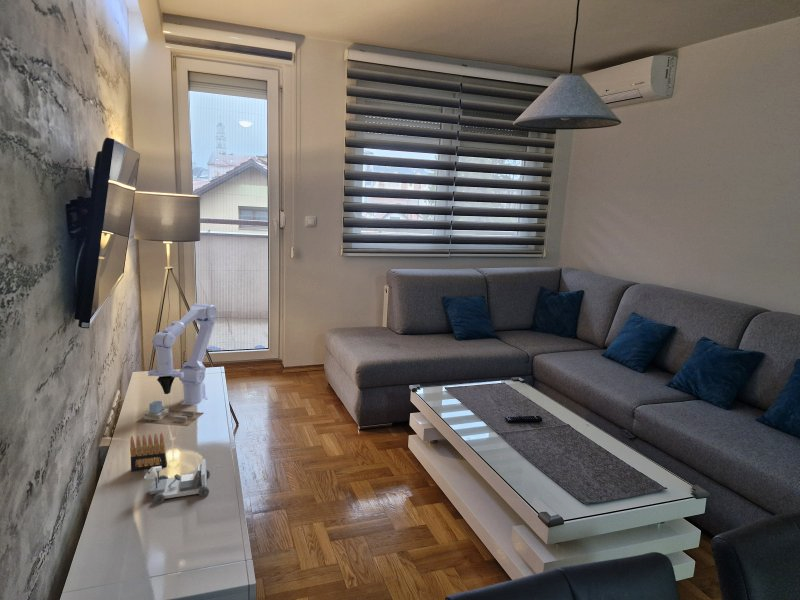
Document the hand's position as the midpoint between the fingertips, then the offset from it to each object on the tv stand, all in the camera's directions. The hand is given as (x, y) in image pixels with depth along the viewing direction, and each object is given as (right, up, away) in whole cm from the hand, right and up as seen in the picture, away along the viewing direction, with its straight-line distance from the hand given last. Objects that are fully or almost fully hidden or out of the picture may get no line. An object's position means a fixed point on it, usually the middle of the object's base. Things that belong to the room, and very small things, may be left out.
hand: (167, 393), depth 211 cm
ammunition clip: (+12, -18, -40) cm, 46 cm away
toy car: (+27, -21, -53) cm, 63 cm away
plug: (-4, -9, -2) cm, 10 cm away
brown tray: (+2, -10, -2) cm, 10 cm away
